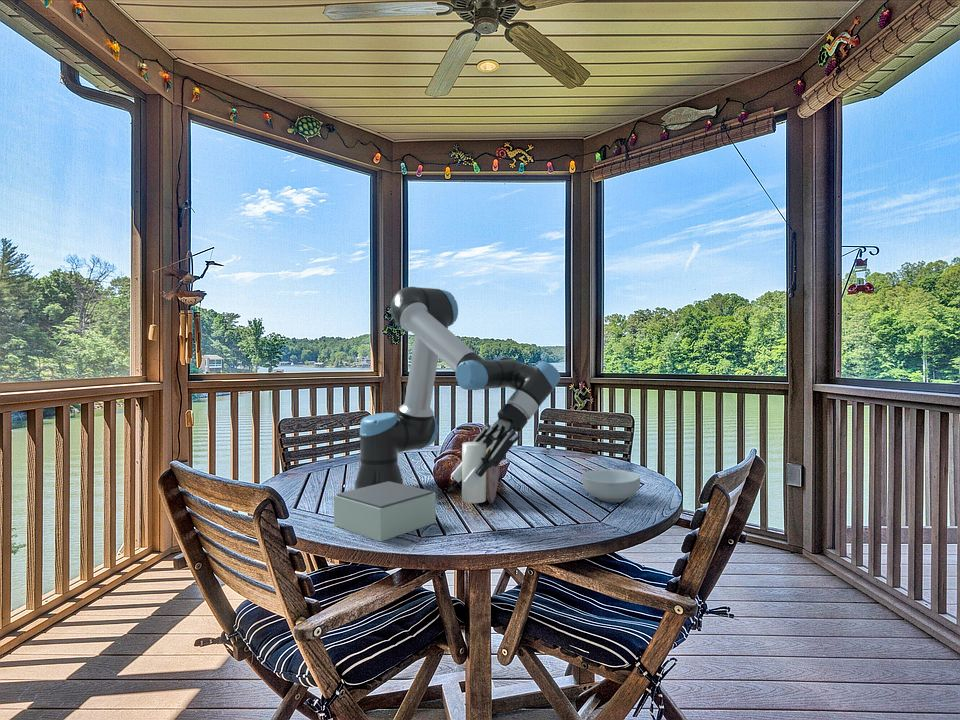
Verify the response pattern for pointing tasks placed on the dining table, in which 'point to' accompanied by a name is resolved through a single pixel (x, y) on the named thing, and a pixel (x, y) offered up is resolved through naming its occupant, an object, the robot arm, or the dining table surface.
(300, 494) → the dining table surface
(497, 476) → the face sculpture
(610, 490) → the cereal bowl
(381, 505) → the block
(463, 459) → the post
